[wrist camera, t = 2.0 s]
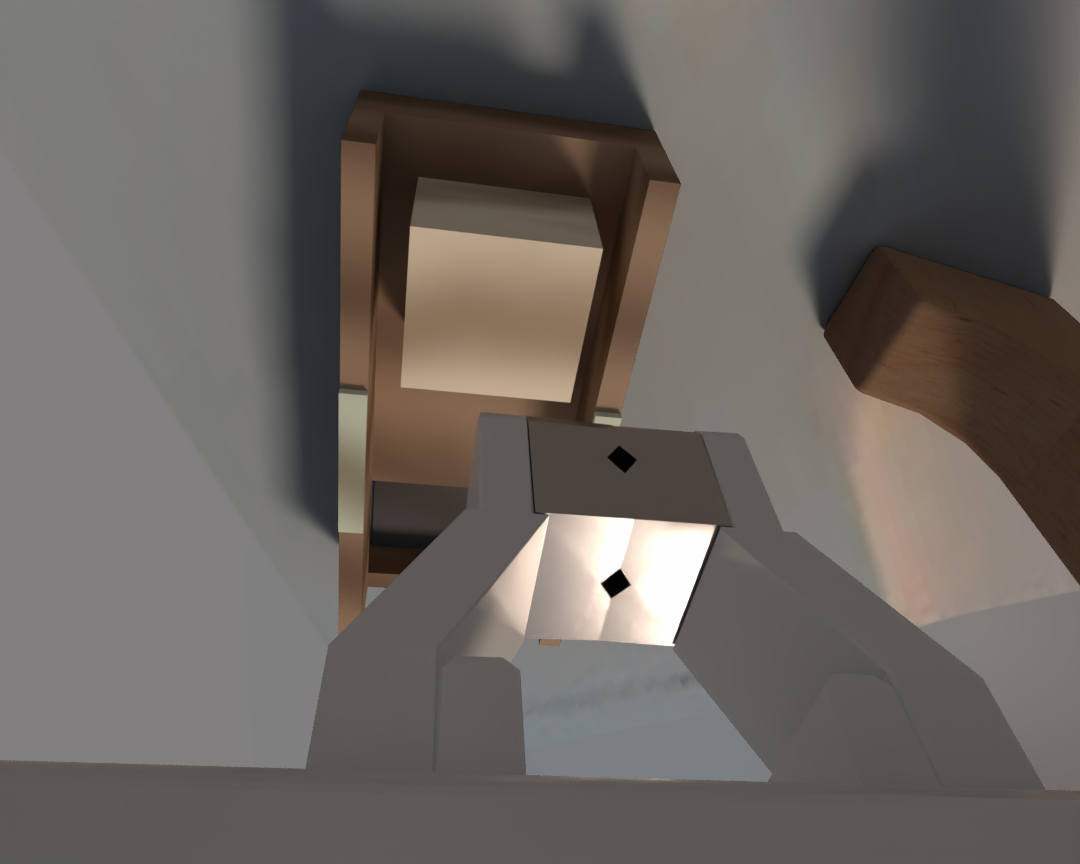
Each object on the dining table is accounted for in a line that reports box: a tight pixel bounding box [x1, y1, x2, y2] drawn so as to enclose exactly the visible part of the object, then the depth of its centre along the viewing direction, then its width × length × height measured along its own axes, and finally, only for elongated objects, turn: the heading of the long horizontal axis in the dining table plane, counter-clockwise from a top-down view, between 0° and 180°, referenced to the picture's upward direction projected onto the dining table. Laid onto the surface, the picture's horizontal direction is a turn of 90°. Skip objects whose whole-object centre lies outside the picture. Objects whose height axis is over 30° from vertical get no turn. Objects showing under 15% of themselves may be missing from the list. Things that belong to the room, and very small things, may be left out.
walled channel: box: [338, 90, 681, 646], centre depth 34 cm, size 23×10×5 cm, turn 171°
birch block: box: [401, 177, 603, 403], centre depth 29 cm, size 6×6×4 cm
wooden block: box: [824, 247, 1080, 585], centre depth 28 cm, size 9×4×18 cm, turn 72°
